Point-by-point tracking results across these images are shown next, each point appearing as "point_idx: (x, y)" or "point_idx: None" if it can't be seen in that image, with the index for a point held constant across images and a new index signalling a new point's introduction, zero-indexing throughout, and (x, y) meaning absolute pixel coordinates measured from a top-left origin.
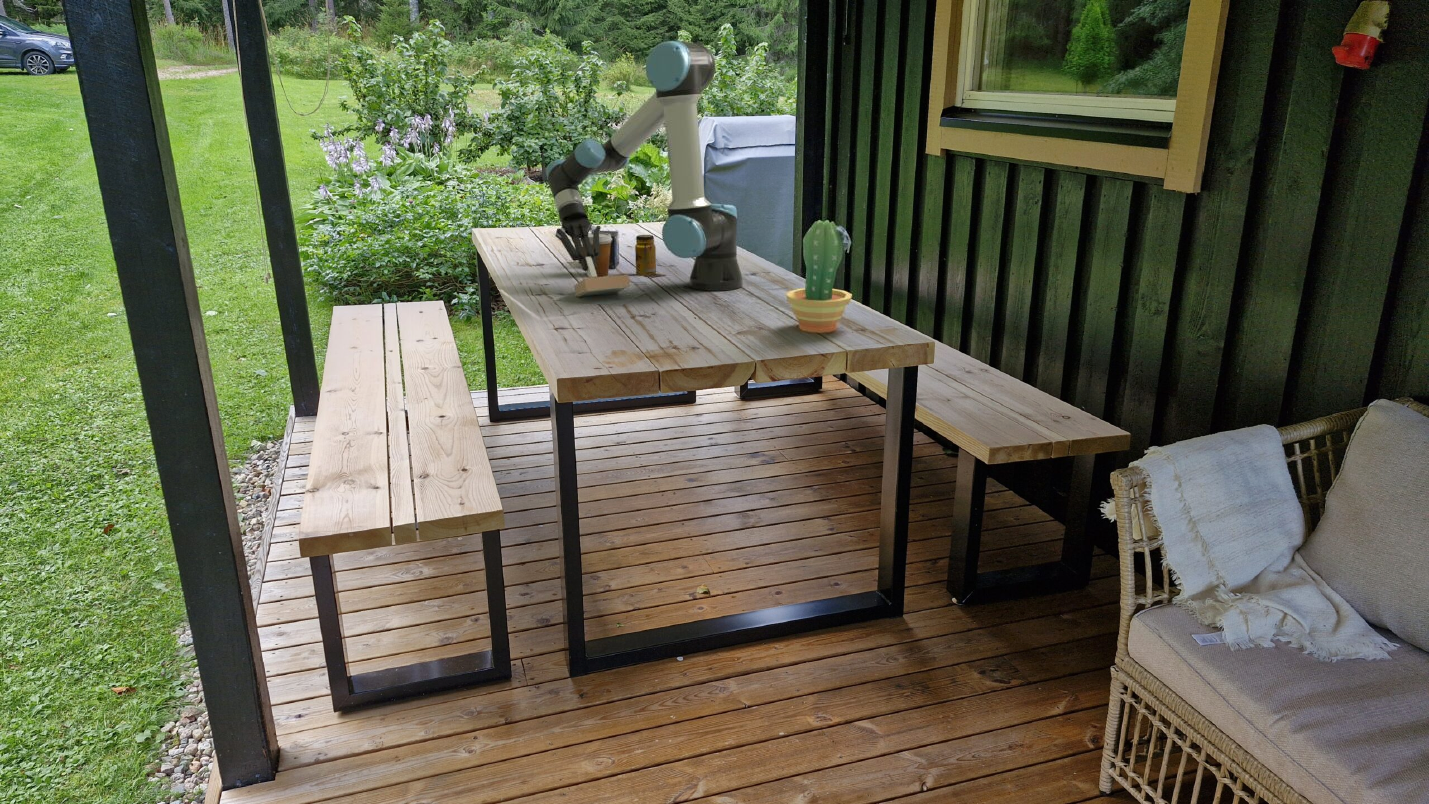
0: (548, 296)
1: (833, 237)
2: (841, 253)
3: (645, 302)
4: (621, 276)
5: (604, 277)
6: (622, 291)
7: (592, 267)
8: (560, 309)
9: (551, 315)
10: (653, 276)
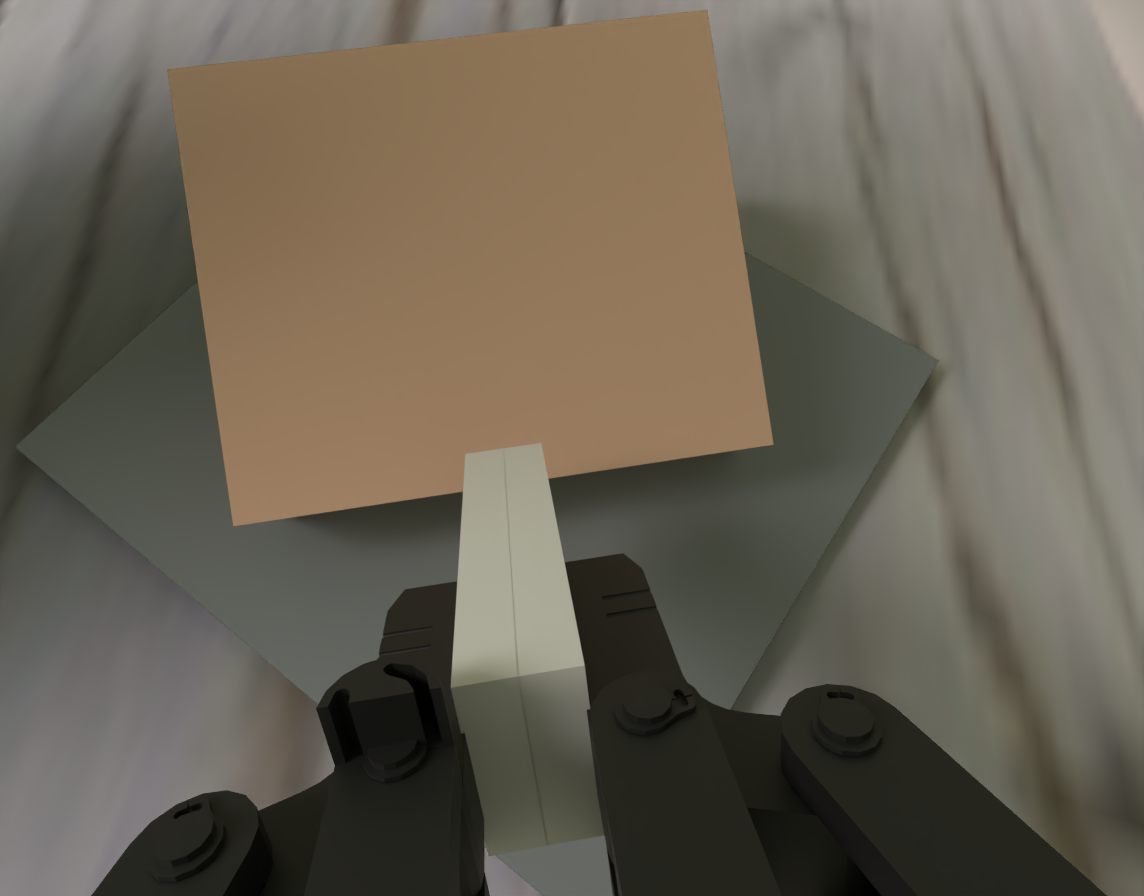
0: (1011, 679)
1: None
2: None
3: None
4: (261, 69)
5: (470, 40)
6: (215, 555)
7: (496, 518)
8: (871, 166)
9: (930, 42)
10: None
